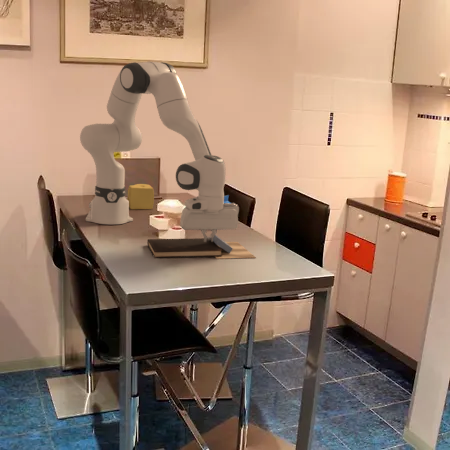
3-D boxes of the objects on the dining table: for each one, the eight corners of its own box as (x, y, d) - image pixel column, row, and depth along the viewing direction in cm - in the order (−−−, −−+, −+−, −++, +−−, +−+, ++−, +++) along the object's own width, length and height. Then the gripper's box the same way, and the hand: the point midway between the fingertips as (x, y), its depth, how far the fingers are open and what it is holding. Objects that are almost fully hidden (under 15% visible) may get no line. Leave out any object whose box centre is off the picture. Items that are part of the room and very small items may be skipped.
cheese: (126, 204, 279) (127, 183, 276) (149, 205, 282) (150, 183, 280) (129, 209, 269) (130, 187, 267) (153, 209, 272) (154, 187, 270)
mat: (201, 243, 222) (201, 242, 222) (237, 242, 226) (237, 241, 226) (216, 258, 203) (216, 258, 203) (255, 258, 208) (255, 257, 207)
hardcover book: (221, 256, 205) (222, 249, 205) (154, 258, 199) (154, 251, 199) (210, 243, 220) (210, 237, 220) (147, 245, 214) (147, 238, 214)
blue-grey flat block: (209, 237, 216) (212, 232, 216) (222, 246, 218) (225, 241, 218) (216, 244, 208) (219, 239, 208) (229, 253, 210) (232, 248, 210)
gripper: (236, 201, 215) (233, 238, 218) (180, 200, 208) (178, 239, 212) (242, 205, 209) (239, 243, 212) (184, 204, 203) (182, 244, 206)
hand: (208, 241), depth 212 cm, fingers closed
